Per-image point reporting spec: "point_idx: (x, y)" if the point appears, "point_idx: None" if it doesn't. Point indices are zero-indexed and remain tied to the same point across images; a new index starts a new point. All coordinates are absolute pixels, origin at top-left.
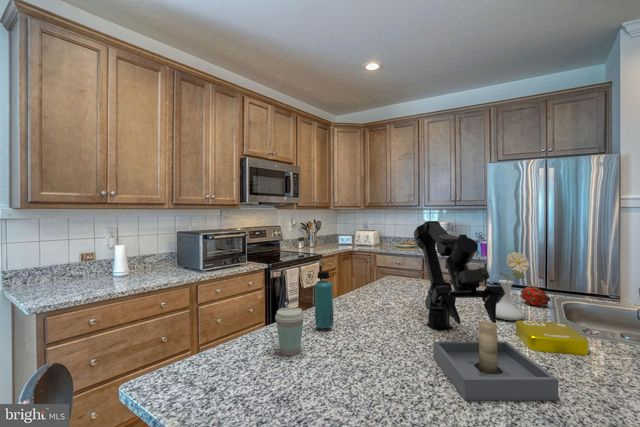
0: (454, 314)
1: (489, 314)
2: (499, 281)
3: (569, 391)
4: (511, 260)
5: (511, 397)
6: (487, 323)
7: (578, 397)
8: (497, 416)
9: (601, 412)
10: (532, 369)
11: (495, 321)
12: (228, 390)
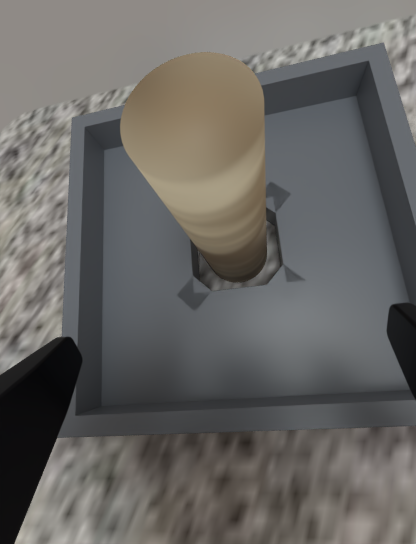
0: None
1: (27, 460)
2: None
3: (53, 203)
4: None
5: None
6: (187, 123)
7: (52, 179)
8: (289, 61)
9: (50, 129)
10: (94, 218)
11: (55, 340)
12: None
